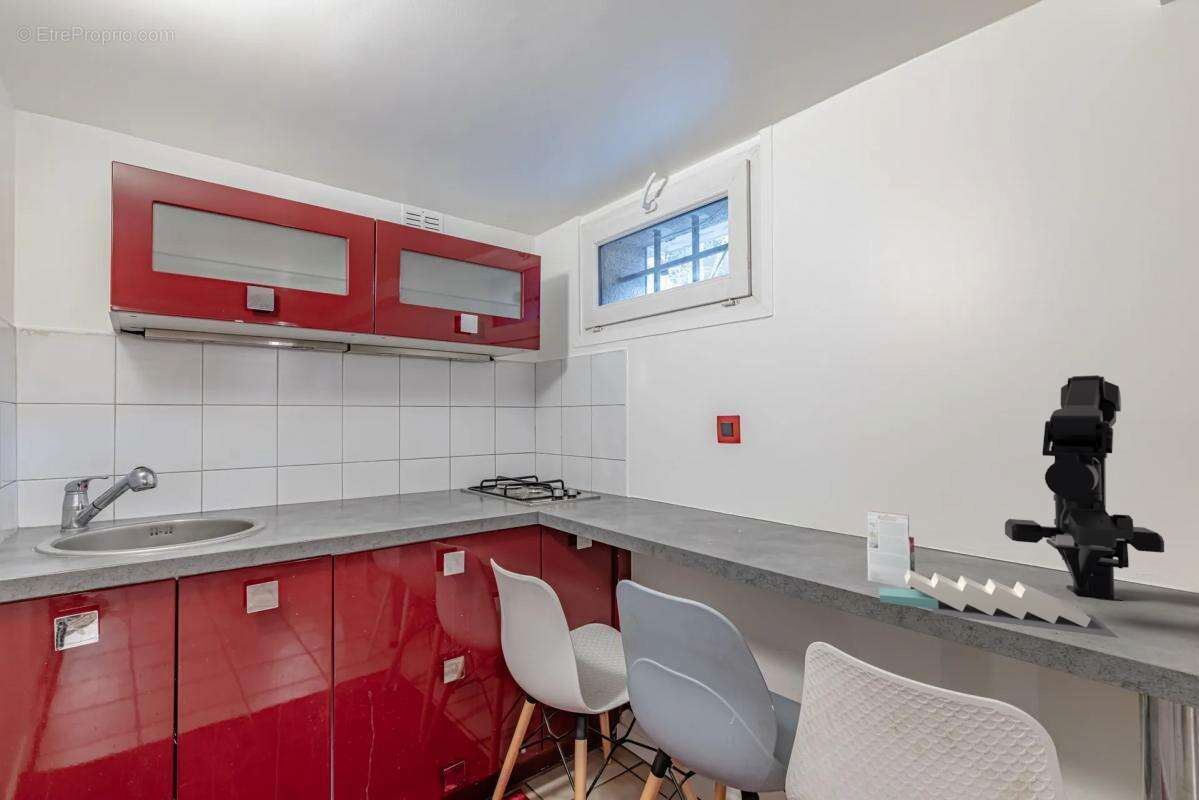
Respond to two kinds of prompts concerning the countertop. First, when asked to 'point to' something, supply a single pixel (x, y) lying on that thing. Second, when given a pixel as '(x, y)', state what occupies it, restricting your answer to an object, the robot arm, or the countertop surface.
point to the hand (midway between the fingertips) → (1080, 588)
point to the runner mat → (1026, 620)
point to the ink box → (889, 549)
